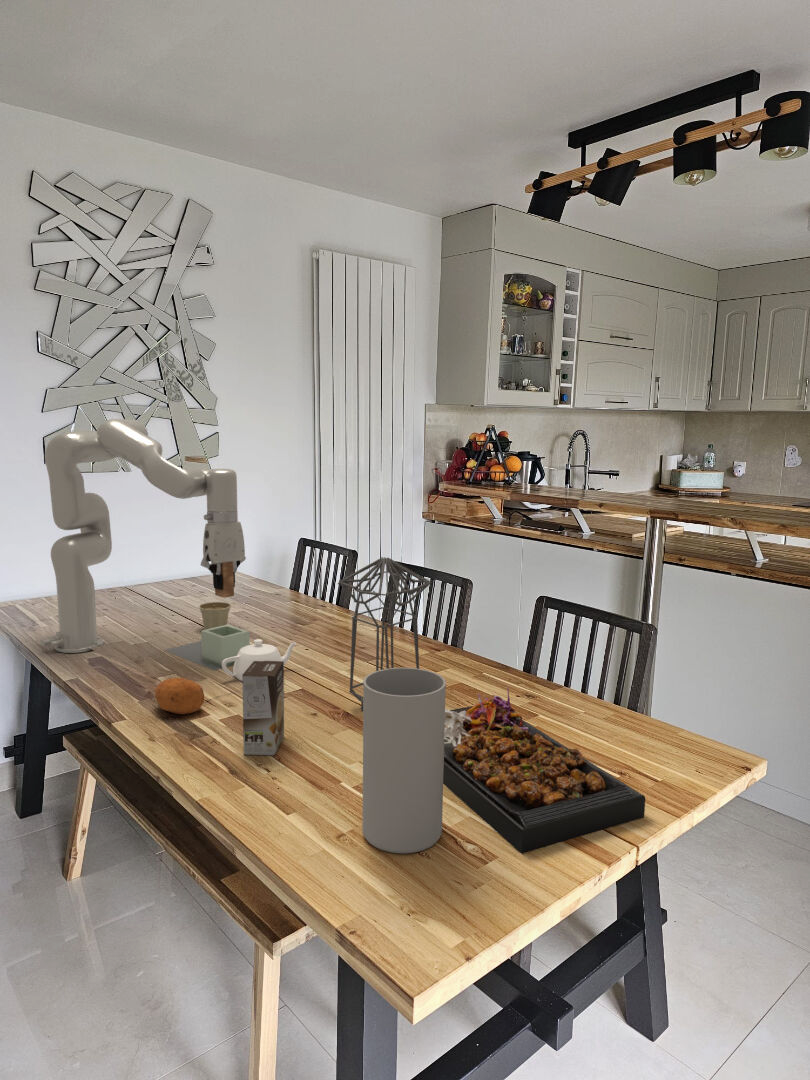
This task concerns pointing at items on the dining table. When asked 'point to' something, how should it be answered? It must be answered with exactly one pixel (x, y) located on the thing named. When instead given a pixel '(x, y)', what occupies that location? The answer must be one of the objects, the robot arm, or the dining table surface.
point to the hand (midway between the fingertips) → (224, 587)
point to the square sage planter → (223, 643)
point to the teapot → (254, 657)
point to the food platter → (529, 779)
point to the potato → (179, 695)
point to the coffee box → (263, 707)
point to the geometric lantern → (399, 574)
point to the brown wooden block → (226, 580)
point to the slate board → (193, 654)
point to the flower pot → (214, 614)
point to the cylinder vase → (403, 758)
